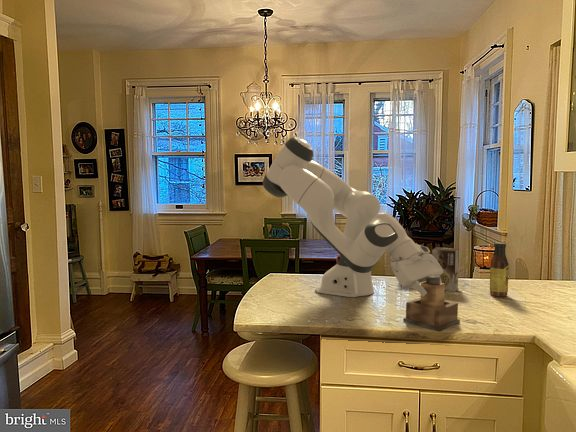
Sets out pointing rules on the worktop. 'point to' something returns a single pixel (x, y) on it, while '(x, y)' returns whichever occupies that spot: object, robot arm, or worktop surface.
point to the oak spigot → (433, 292)
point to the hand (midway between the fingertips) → (434, 292)
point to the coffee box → (448, 266)
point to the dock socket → (432, 315)
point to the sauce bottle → (499, 271)
